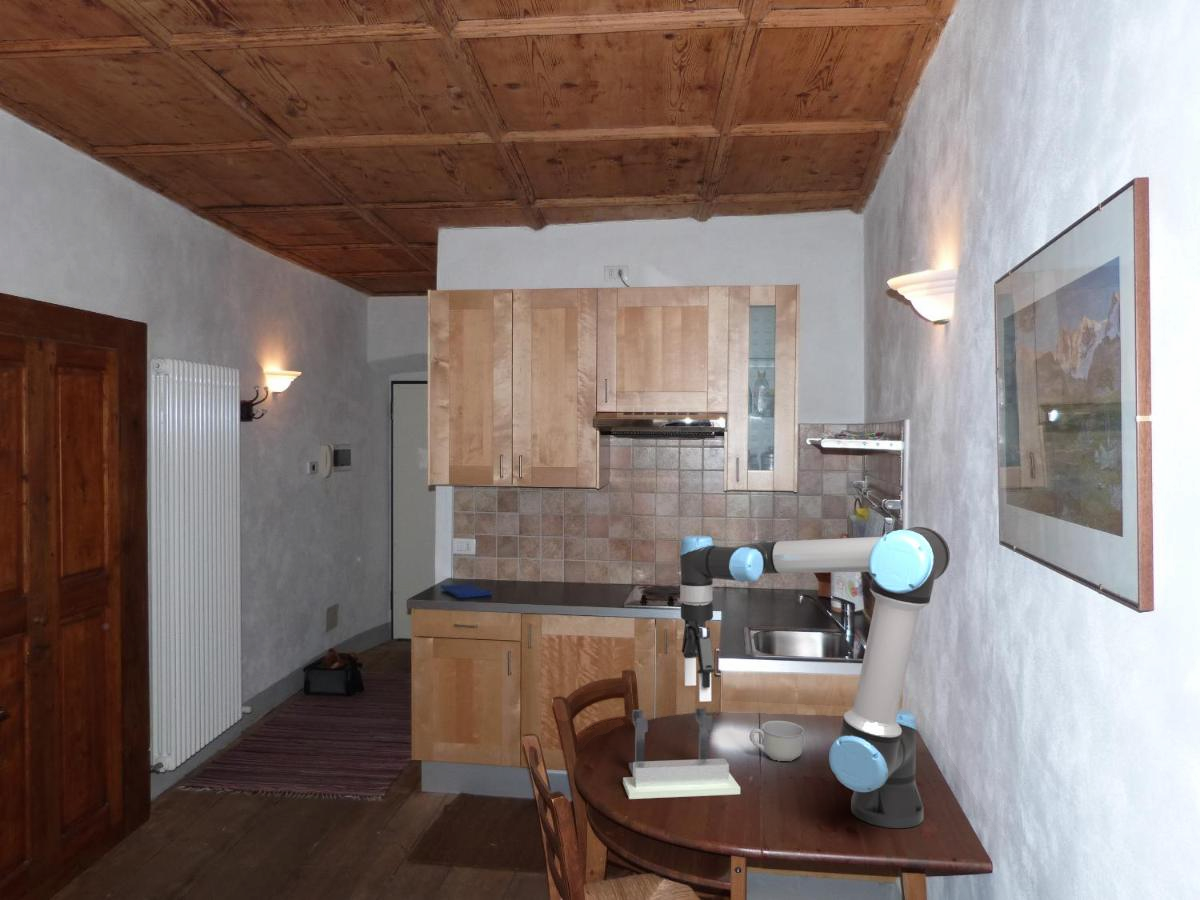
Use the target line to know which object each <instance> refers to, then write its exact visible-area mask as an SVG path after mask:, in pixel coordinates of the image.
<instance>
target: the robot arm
mask: <svg viewBox="0 0 1200 900" xmlns="http://www.w3.org/2000/svg"><path fill="white" fill-rule="evenodd" d="M679 559H680V561H679V563H680V584H679V585H680V586H679V589H680V591H679V595H680V597H679V598H680V601H681V604H680V618H681V619H682V621H683V620H684V630H683V638H682V645H681V652H682V655H683V660H684V661H683V664H684V666H683V667H684V670H683V671H684V672H683V673H684V686H687V687H688V686H689V687H690V686H697V674H698V702H712V673H714V672H715V666H714V660H713V659H714V658H713V651H712V643H711V629H710V627H706V622H708V621H710V620H712V619H713V618H714V604H713V603H712V601H713V592H714V591H716V588H715V587H714V586H713V583H714V582H713V580H714V579H717V580H725V581H727V580H728V581H735V582H740V583H744V582H752V583H754V582H756V581H757V580H759V579H760V577H761V576H762V575H765V574H766V575H768V574H769V575H772V574H801V573H802V574H803V573H806V574H807V573H809V574H810V573H859V572H860V573H866V572H867V573H868V572H870V575H871V582H870V587H869V591H870V592H871V594H872V596H874V598H875V601H874V607H873V611H872V615H871V619H870V625H869V630H868V636H867V641H866V645H865V649H864V653H863V654H864V655H863V659H862V665H861V669H860V673H859V674H860V675H859V678H858V684H857V689H856V693H855V698H854V703H853V706H852V707H853V708H851V709H849V710H848V711H846V712H845V713H844V715H843V719H842V723H841V727H840V731H839V732H840V733H839V737H838V738H836V739H835V740H834V742H833V743H832V745H831V747H830V749H829V754H828V761H829V766H830V769H831V771H832V773H834V775H835V777H836V779H837V780H838V781H839V782H840V783H841V784H842V785H844V786H845V788H848V789H850V790H852V791H853V792H852V793H853V794H852V796H851V801H850V804H851V805H850V810H851V813H852V815H854V816H855V817H856V818H858V819H860V820H861V821H863V822H865V823H868V824H870V825H874V826H879V827H883V828H888V829H889V828H890V829H906V828H907V829H909V828H912V827H916V826H918V825H920V824H921V823H922V822H923V821H924V805H923V802H922V799H921V796H920V793H919V789H918V787H917V784H916V765H917V764H916V763H917V762H916V759H917V758H916V756H917V755H916V754H917V753H916V751H917V749H916V748H917V746H916V745H917V731H918V728H917V723H916V722H917V721H916V717H915V715H914V714H913V713H911V712H910V711H908V710H905V709H901V708H899V707H900V704H901V703H900V702H901V700H902V699H901V698H902V693H903V688H904V685H905V684H904V683H905V679H906V675H907V670H908V667H909V666H908V665H909V660H910V656H911V651H912V647H913V646H912V645H913V644H914V643H913V641H914V638H915V633H916V629H917V623H918V618H919V615H920V611H921V609H922V608H924V607H926V606H928V605H930V603H931V602H930V601H931V596H932V594H933V587H934V583H935V581H936V580H938V579H939V578H940V577H942V575H943V574H944V573H945V572H946V570H947V569H948V566H949V564H950V559H951V552H950V548H949V546H948V543H947V540H945V538H944V537H943V536H942V535H941V534H940V533H939V532H937V531H936V530H934V529H932V528H929V527H926V526H925V527H923V526H915V527H909V528H906V529H898V530H893V531H886V532H884V534H883V535H882V536H870V537H869V536H867V537H848V538H847V537H845V538H842V537H841V538H826V539H825V538H823V539H820V538H819V539H801V540H798V539H797V540H781V541H771V540H759V541H756V542H753V543H747V544H743V545H737V546H721V545H720V546H719V545H714V542H713V539H712V537H711V536H708V535H707V536H706V535H687V536H684V537H682V538H681V540H680V553H679ZM696 658H697V659H696ZM697 661H698V667H699V669H697Z"/></svg>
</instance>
